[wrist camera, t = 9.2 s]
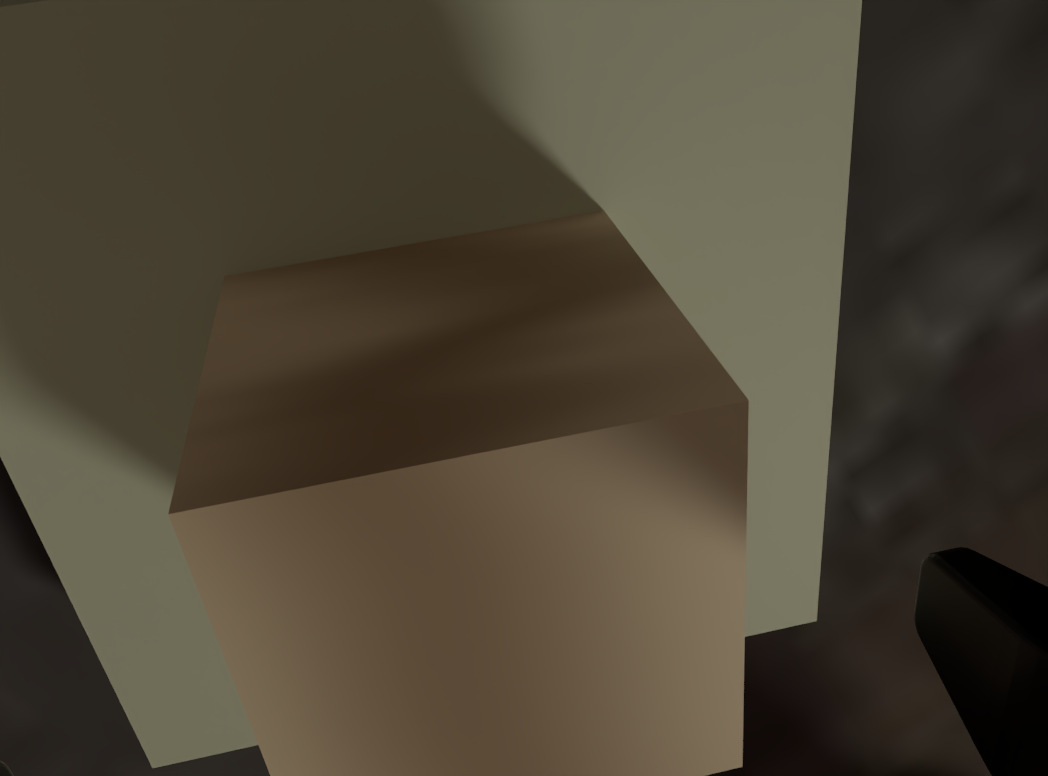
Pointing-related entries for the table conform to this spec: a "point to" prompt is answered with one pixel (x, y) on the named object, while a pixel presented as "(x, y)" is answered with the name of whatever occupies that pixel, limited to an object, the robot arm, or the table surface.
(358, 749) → the maple cube
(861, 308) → the table surface
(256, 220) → the sage base
